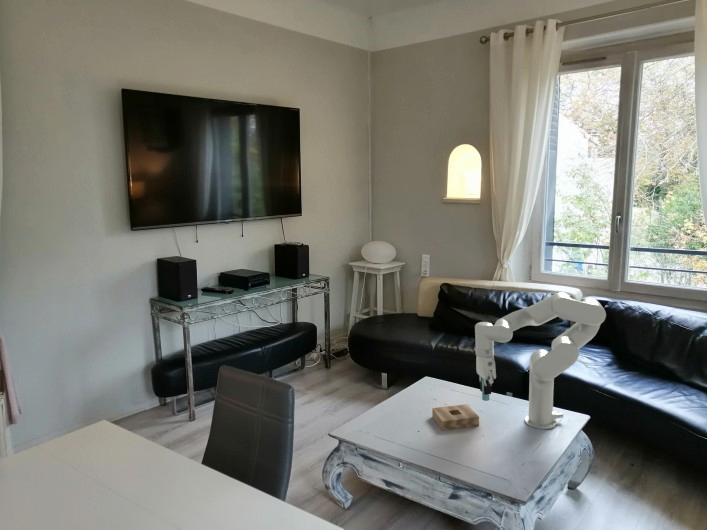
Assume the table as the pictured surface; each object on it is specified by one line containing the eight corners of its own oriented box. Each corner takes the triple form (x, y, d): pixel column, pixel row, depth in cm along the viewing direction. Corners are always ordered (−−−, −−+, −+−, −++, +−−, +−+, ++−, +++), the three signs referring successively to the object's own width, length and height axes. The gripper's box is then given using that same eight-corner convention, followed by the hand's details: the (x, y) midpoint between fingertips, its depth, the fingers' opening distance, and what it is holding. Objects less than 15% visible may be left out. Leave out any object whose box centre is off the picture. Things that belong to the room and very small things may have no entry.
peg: (487, 397, 233) (487, 375, 232) (490, 400, 231) (490, 378, 229) (481, 398, 233) (480, 376, 231) (484, 401, 230) (483, 378, 228)
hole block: (466, 412, 239) (466, 404, 238) (479, 425, 226) (479, 416, 225) (432, 416, 236) (432, 408, 235) (442, 430, 223) (442, 421, 222)
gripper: (501, 356, 221) (502, 398, 224) (484, 344, 237) (485, 384, 240) (484, 358, 220) (485, 401, 223) (468, 346, 236) (469, 386, 238)
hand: (485, 392), depth 231 cm, fingers closed on peg, 3 cm apart
